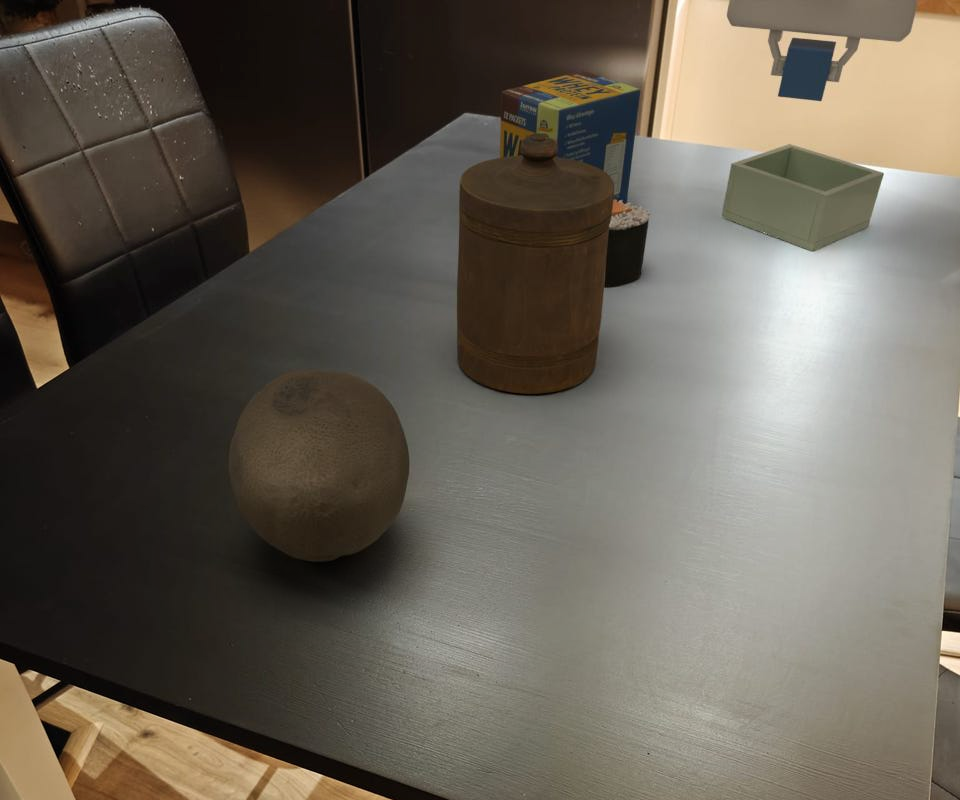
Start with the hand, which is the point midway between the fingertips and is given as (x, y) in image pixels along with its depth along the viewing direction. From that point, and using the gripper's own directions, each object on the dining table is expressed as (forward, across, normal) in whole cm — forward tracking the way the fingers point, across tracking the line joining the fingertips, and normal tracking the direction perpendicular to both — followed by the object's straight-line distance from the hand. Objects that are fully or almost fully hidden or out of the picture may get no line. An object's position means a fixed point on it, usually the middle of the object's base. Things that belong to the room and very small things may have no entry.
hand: (804, 77), depth 109 cm
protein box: (+20, +28, 0) cm, 34 cm away
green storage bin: (+19, -3, -9) cm, 22 cm away
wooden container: (+20, +21, +41) cm, 50 cm away
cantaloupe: (+20, +27, +77) cm, 84 cm away
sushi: (+20, +18, +16) cm, 31 cm away
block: (+2, 0, 0) cm, 2 cm away
